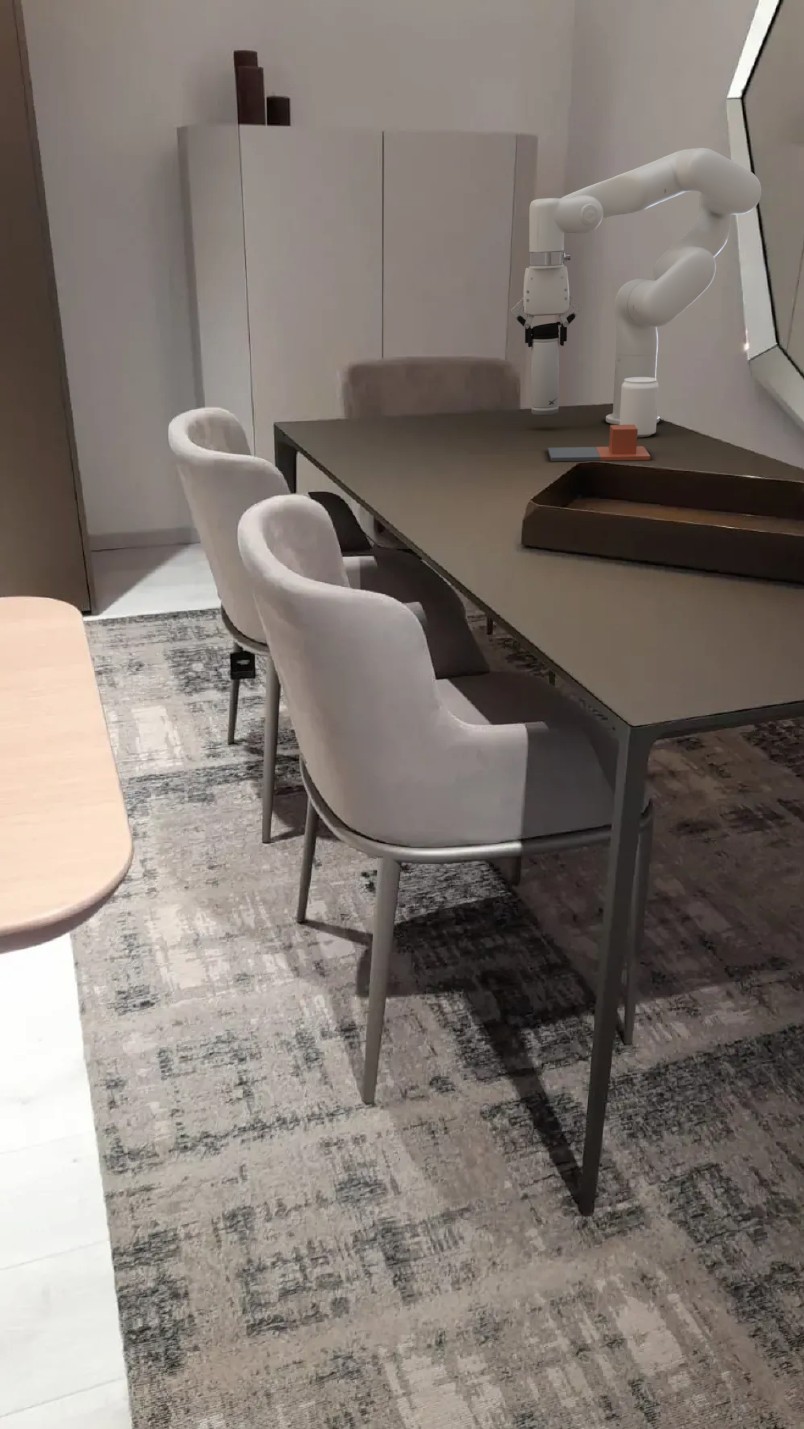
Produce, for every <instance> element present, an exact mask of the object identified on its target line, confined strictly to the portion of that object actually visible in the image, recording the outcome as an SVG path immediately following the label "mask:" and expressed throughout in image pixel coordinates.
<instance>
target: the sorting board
mask: <svg viewBox="0 0 804 1429" xmlns="http://www.w3.org/2000/svg"><path fill="white" fill-rule="evenodd" d="M547 453H548V455H549V460H550V462H597V461H598V462H599V461H600V462H601V461H602V462H603V461H605V462H606V461H608V462H609V461H651V455H650V454H649V452H648V450H647V449H646V447H645V446H644V445H639V446H638V445H637V449H636V454H611V452H610V450H609V446H576V447H575V446H569V447H565V446H564V447H563V446H562V447H548V448H547Z"/></svg>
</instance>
